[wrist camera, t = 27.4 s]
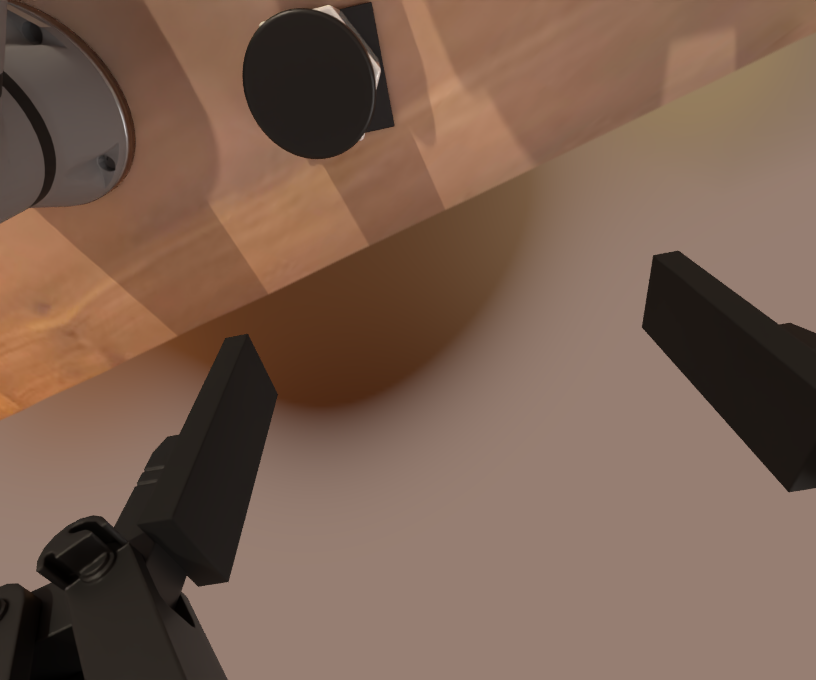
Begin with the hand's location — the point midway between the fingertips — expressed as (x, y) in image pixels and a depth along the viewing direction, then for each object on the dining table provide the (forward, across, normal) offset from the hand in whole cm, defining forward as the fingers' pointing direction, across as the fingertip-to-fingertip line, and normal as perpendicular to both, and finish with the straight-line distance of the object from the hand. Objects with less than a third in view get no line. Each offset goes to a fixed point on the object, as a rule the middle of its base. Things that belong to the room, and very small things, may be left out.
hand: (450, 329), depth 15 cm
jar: (+31, -5, +6) cm, 32 cm away
